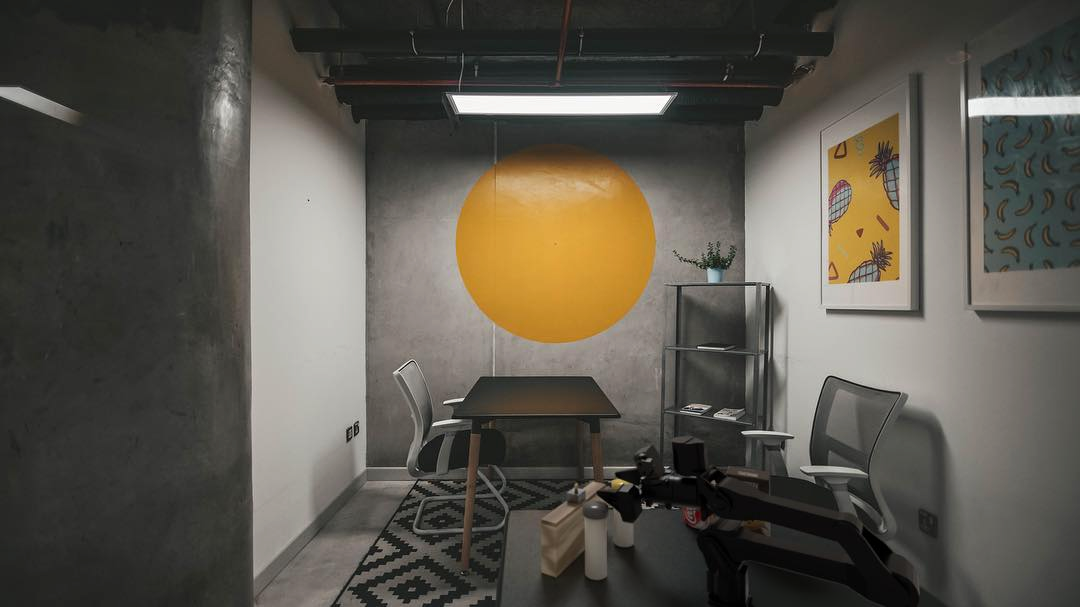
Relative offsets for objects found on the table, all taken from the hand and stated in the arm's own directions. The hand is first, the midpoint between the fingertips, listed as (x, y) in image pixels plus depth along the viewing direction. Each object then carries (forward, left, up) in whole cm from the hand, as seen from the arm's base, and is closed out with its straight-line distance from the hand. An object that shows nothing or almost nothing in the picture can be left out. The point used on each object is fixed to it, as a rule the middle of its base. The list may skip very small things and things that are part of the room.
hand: (606, 483), depth 99 cm
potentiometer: (+7, +1, -5) cm, 9 cm away
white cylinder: (-1, -7, -16) cm, 17 cm away
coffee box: (-25, -23, -16) cm, 37 cm away
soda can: (-13, -26, -16) cm, 33 cm away
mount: (+7, +1, -16) cm, 17 cm away
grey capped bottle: (-1, +8, -16) cm, 18 cm away
